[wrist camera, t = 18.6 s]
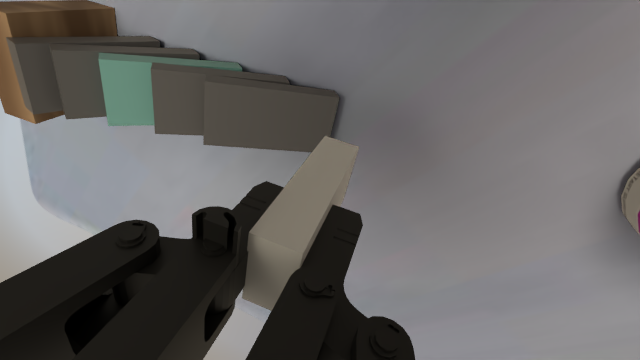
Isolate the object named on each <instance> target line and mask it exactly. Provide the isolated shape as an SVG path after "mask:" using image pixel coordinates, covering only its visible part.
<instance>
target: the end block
mask: <svg viewBox="0 0 640 360" xmlns="http://www.w3.org/2000/svg"><path fill="white" fill-rule="evenodd" d="M104 36H117V28H116V19H115V10H114V8H112V7H108V6H105V5H101V4H98V3H94V2H91V1H87V0H63V1H11V2H0V99H1V101H2V105H3V108H4V111H5V113H7V114H10V115H13V116H15V117H18V118H21V119H24V120H26V121H29V122H32V123H35V124H37V123H40V122H43V121H46V120H49V119H52V118H55V117H58V116H61V115H64V111H63V110H62V111H56V112H49V113H42V114H35V115H34V114H33V113H31V112H30V111H29V110H28V109H27V108H26V107H25V104H24V100H23V97H22V93H21V90H20V86H19V83H18V79H17V75H16V72H15V68H14V65H13V61H12V58H11V54H10V51H9V47H8V43H7V40H6V37H104Z"/></svg>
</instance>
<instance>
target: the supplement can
mask: <svg viewBox="0 0 640 360" xmlns="http://www.w3.org/2000/svg"><path fill="white" fill-rule="evenodd" d="M621 203H622V213H623V214H624V216H625V217H626V219H627V220H628V221H629V223H630V224H631V226H632V227H633V228H634V229H635V230H636V232H637V233H638V234H639V235H640V167H639V168H638V170H637V171H636V172H635V173H634V174H633V175H632V176H631V177H630V178H629V179H628V181H627V183H626V186H625V188H624V191H623V193H622V195H621Z"/></svg>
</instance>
